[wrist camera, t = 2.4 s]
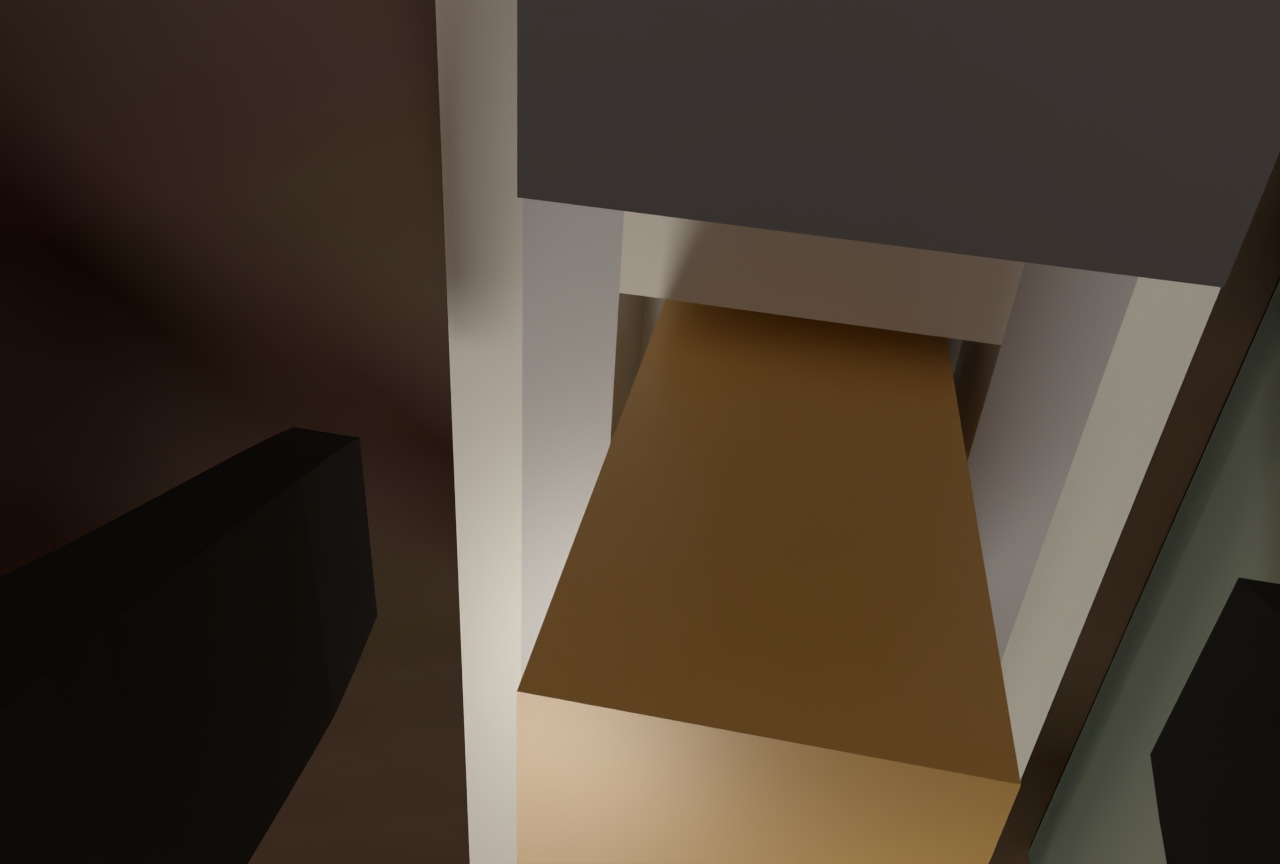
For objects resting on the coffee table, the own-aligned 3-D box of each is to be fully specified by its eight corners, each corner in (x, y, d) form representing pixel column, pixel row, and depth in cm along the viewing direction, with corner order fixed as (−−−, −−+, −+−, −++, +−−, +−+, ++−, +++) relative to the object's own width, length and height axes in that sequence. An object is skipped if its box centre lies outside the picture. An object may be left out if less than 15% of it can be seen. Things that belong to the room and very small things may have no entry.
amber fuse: (649, 584, 12) (517, 1093, 7) (679, 261, 10) (517, 692, 5) (859, 620, 11) (861, 1173, 7) (939, 294, 9) (1021, 785, 5)
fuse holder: (491, 884, 17) (440, 1035, 15) (450, -1046, 6) (250, -1452, 4) (913, 971, 16) (921, 1144, 14) (1687, -1065, 6) (2185, -1579, 3)
